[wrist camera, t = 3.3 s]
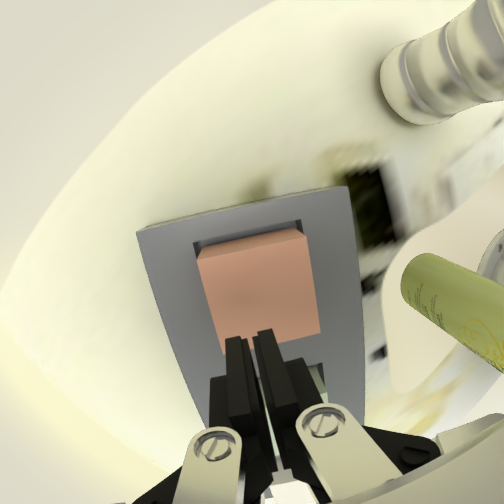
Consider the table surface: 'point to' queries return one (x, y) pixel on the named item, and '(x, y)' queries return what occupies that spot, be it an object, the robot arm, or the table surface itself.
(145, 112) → the table surface
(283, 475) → the offwhite button
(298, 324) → the terracotta button
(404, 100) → the plastic bottle
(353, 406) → the panel
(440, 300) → the tube
